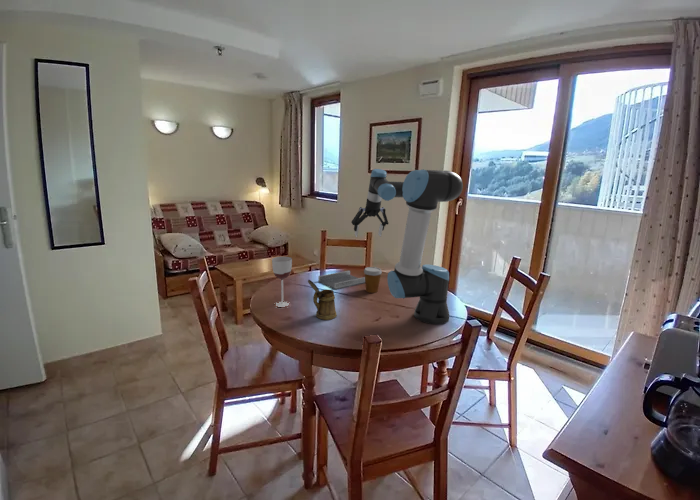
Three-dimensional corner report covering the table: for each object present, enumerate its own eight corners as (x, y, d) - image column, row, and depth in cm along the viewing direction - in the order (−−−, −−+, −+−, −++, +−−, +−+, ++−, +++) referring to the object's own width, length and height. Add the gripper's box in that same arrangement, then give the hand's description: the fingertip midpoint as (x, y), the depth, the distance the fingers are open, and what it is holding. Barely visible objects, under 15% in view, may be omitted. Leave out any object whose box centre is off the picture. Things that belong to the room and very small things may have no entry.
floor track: (348, 275, 218) (349, 270, 217) (366, 282, 205) (367, 277, 205) (318, 281, 204) (318, 276, 203) (335, 289, 192) (335, 284, 191)
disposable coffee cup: (381, 294, 187) (382, 272, 185) (363, 293, 188) (363, 271, 185) (380, 288, 197) (381, 267, 194) (362, 287, 197) (363, 266, 194)
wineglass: (269, 307, 166) (268, 260, 161) (278, 300, 175) (277, 255, 170) (287, 309, 164) (286, 262, 159) (295, 302, 173) (295, 257, 168)
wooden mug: (303, 316, 157) (303, 276, 153) (329, 310, 164) (330, 272, 160) (312, 324, 150) (313, 282, 146) (340, 317, 157) (341, 277, 153)
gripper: (393, 196, 192) (386, 231, 202) (349, 196, 184) (343, 232, 195) (399, 202, 186) (391, 238, 196) (353, 202, 178) (347, 239, 189)
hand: (367, 235), depth 196 cm, fingers open, 13 cm apart
